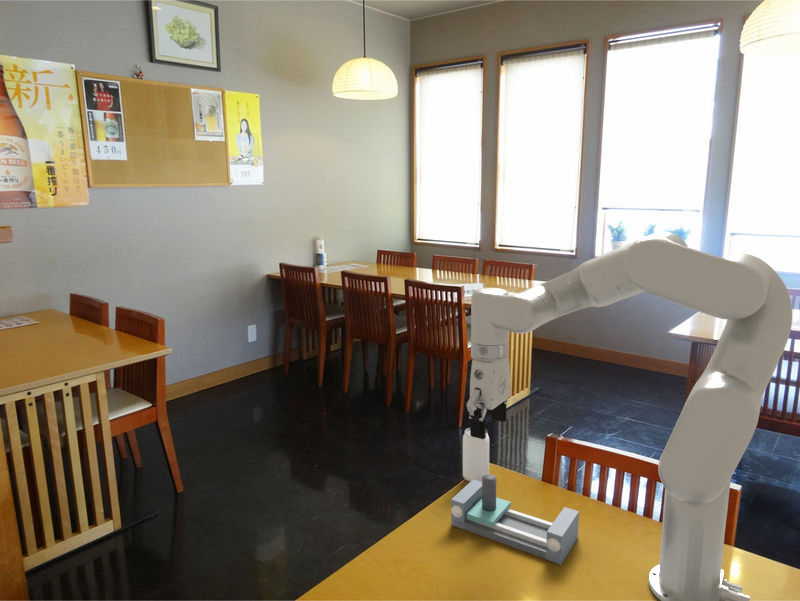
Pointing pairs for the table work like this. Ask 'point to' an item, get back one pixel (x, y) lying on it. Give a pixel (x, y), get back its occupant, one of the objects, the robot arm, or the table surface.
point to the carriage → (488, 503)
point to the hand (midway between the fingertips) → (488, 428)
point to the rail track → (519, 527)
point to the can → (475, 456)
